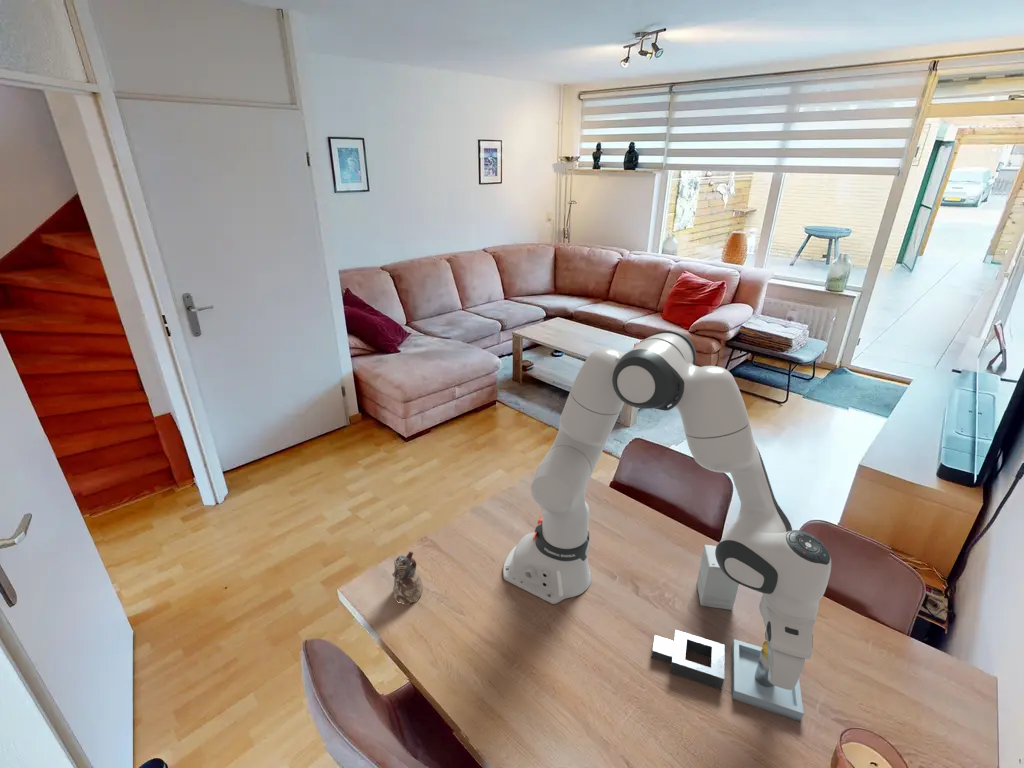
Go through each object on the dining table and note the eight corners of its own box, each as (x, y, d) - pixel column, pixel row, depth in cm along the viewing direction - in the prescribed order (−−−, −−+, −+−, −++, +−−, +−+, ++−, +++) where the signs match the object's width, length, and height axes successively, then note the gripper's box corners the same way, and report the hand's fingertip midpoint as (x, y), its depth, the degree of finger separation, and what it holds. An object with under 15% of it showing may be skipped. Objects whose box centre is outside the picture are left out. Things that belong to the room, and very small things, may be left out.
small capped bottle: (755, 683, 99) (763, 653, 96) (754, 667, 102) (762, 638, 99) (774, 689, 98) (784, 659, 94) (773, 673, 101) (782, 643, 97)
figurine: (388, 592, 122) (382, 555, 117) (413, 577, 126) (408, 541, 121) (403, 610, 117) (397, 573, 112) (428, 594, 122) (424, 557, 116)
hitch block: (650, 666, 104) (651, 655, 102) (654, 634, 111) (656, 623, 109) (721, 690, 99) (724, 678, 98) (721, 655, 106) (724, 644, 104)
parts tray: (732, 698, 98) (734, 690, 97) (731, 646, 108) (734, 639, 107) (800, 721, 94) (803, 713, 92) (793, 665, 104) (796, 657, 102)
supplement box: (733, 611, 116) (743, 571, 110) (700, 606, 117) (708, 566, 112) (727, 586, 122) (736, 547, 117) (696, 581, 124) (703, 543, 118)
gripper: (765, 564, 101) (751, 611, 107) (772, 650, 84) (755, 700, 90) (799, 573, 99) (784, 621, 105) (814, 662, 82) (794, 713, 88)
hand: (771, 658), depth 98 cm, fingers open, 8 cm apart
